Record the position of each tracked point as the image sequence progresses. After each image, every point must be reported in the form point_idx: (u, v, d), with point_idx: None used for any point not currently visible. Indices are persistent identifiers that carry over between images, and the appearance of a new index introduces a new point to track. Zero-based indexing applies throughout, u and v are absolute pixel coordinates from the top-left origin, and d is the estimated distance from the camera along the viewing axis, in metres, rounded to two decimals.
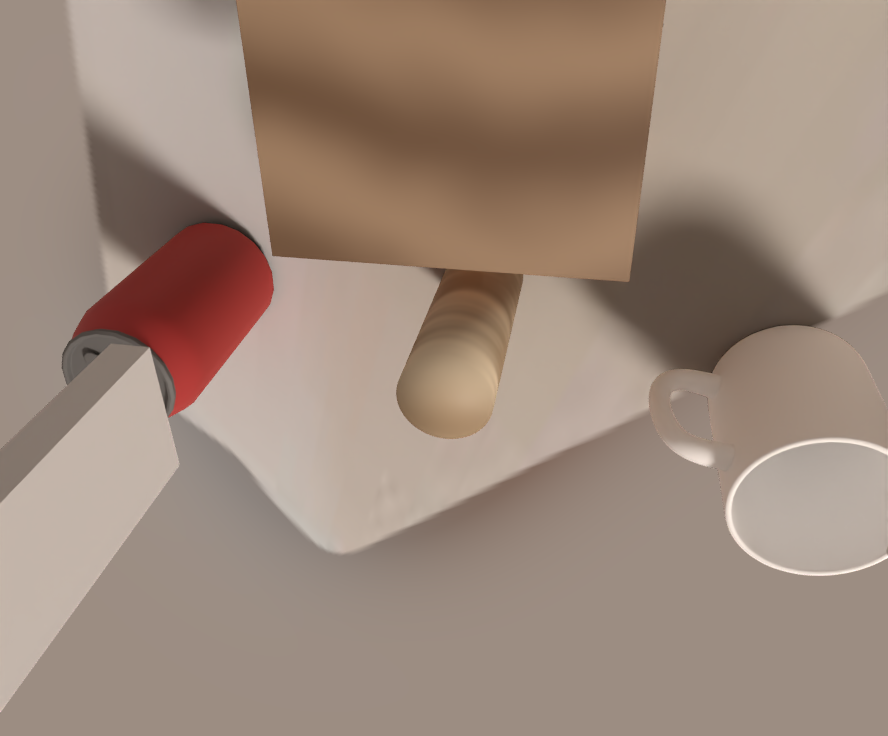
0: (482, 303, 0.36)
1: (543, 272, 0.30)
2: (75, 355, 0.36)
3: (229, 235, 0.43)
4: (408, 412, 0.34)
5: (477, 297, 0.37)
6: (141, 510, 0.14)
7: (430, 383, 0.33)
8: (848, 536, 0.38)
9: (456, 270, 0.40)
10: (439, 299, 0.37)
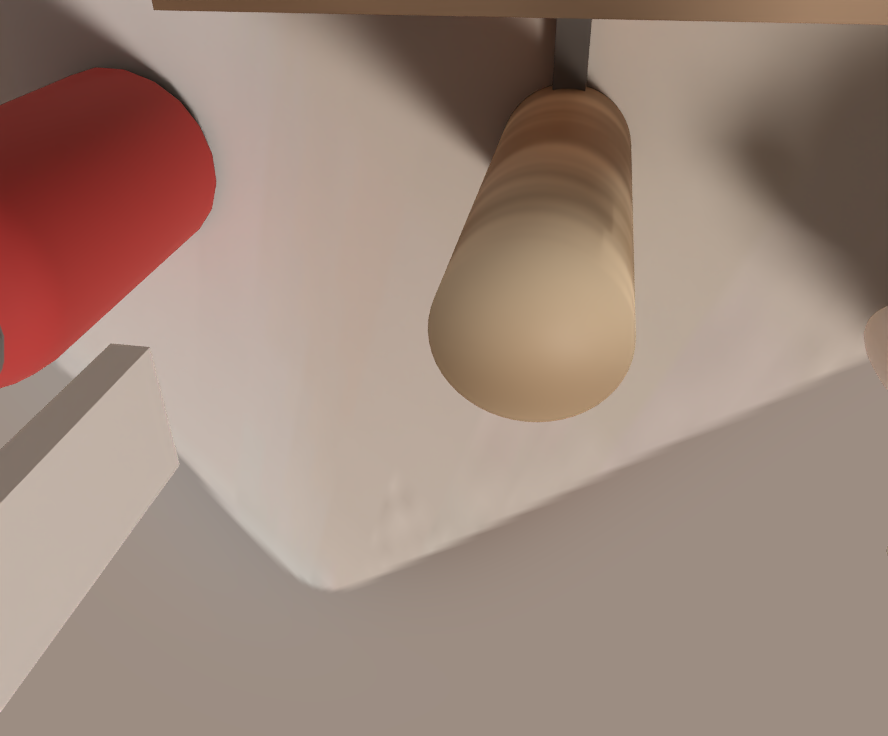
0: (589, 164, 0.19)
1: (796, 13, 0.12)
2: None
3: (136, 84, 0.26)
4: (451, 368, 0.17)
5: (578, 153, 0.19)
6: (141, 510, 0.14)
7: (501, 303, 0.16)
8: None
9: (527, 122, 0.22)
10: (502, 162, 0.20)
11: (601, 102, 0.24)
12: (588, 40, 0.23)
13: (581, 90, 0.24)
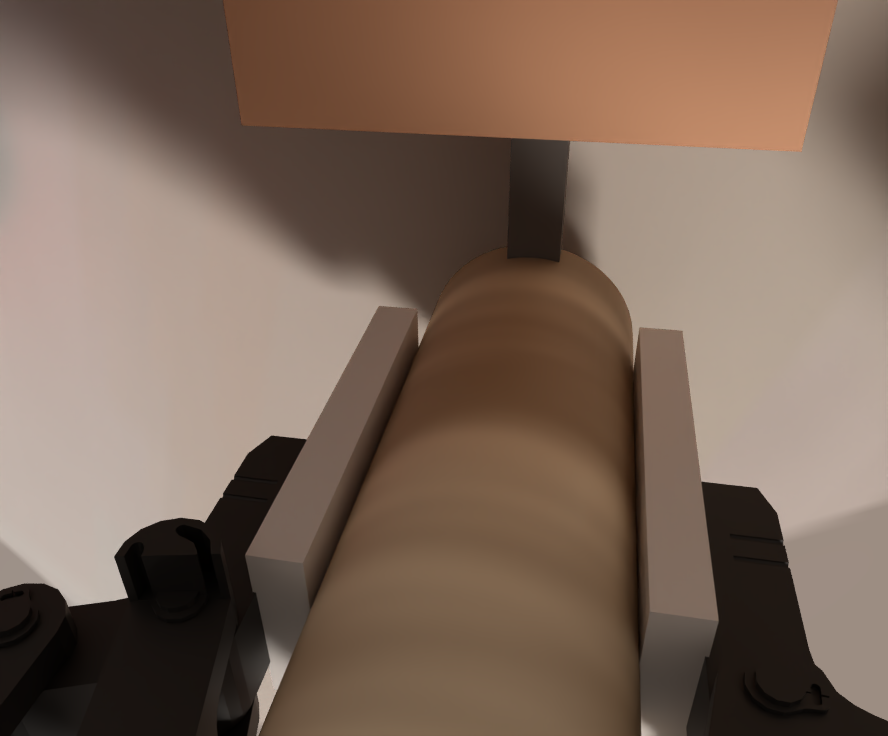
0: (554, 485, 0.10)
1: None
2: None
3: None
4: None
5: (534, 456, 0.10)
6: None
7: None
8: None
9: (456, 339, 0.13)
10: (397, 452, 0.11)
11: (585, 284, 0.15)
12: (563, 188, 0.14)
13: (553, 261, 0.15)
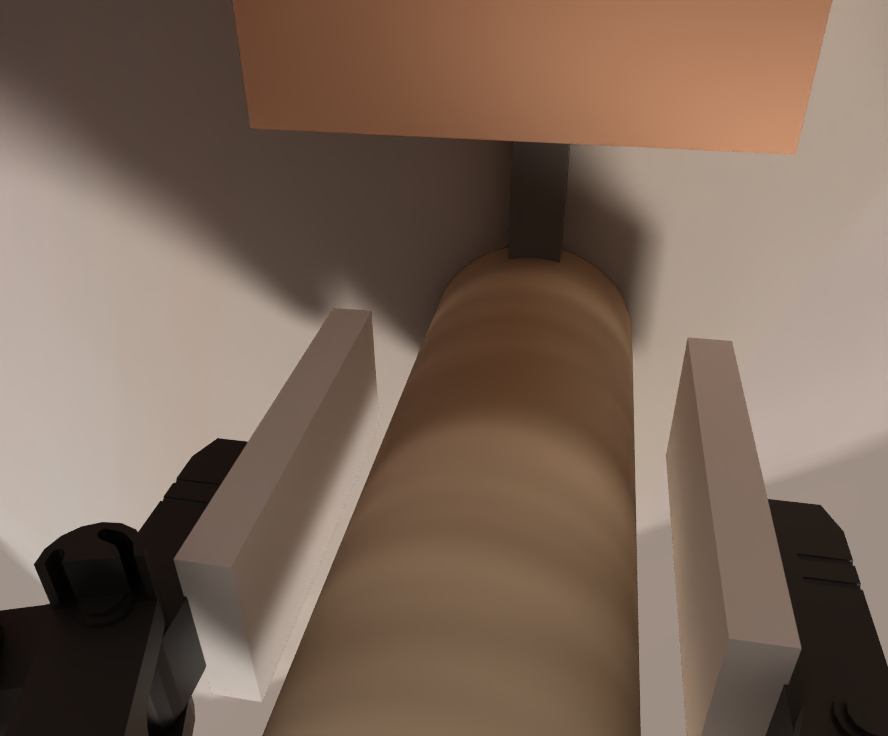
0: (555, 481, 0.10)
1: None
2: None
3: None
4: None
5: (536, 452, 0.10)
6: (357, 464, 0.15)
7: None
8: None
9: (458, 338, 0.13)
10: (401, 449, 0.11)
11: (585, 284, 0.15)
12: (563, 189, 0.14)
13: (553, 261, 0.15)
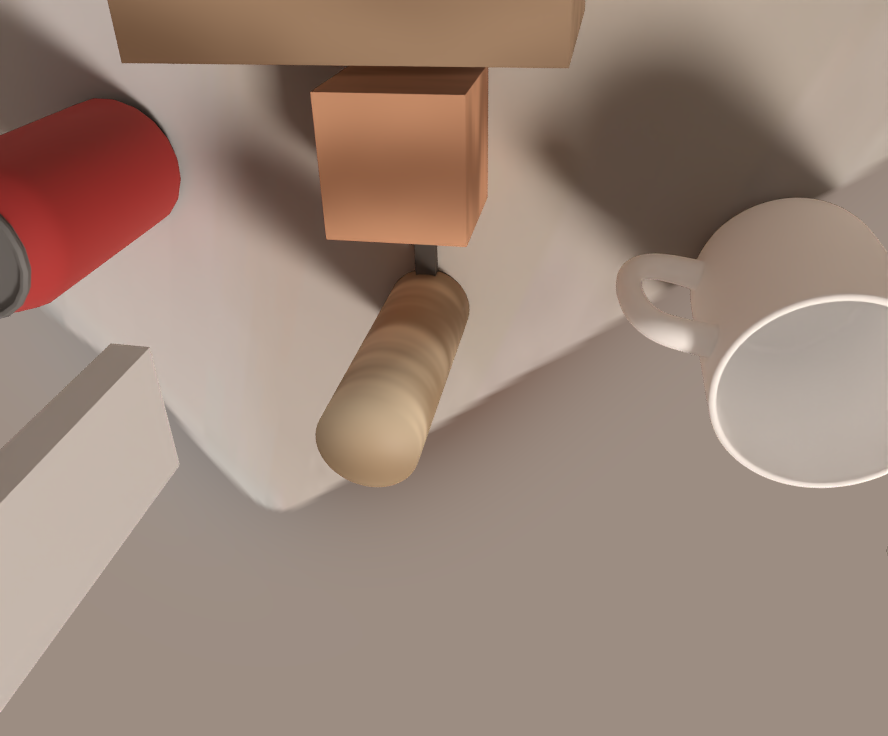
0: (415, 339, 0.34)
1: (458, 62, 0.23)
2: None
3: (122, 109, 0.37)
4: (330, 459, 0.31)
5: (410, 332, 0.34)
6: (141, 511, 0.14)
7: (351, 428, 0.30)
8: (863, 441, 0.31)
9: (393, 303, 0.37)
10: (370, 334, 0.35)
11: (444, 284, 0.39)
12: (434, 248, 0.38)
13: (433, 275, 0.39)
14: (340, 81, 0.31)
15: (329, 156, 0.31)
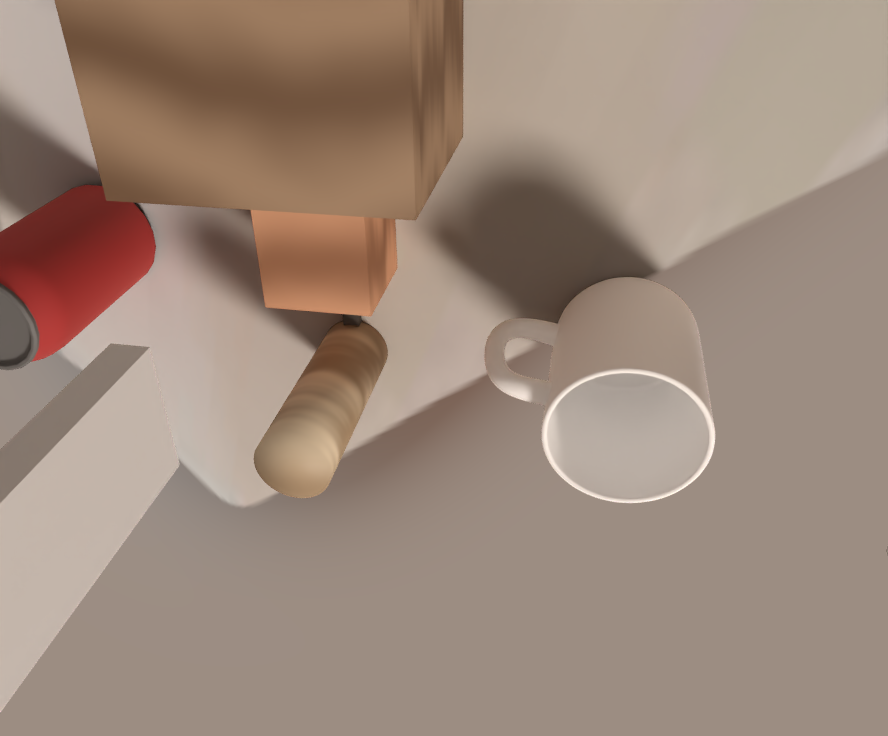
0: (334, 383, 0.44)
1: (341, 212, 0.33)
2: None
3: None
4: (265, 476, 0.42)
5: (331, 377, 0.44)
6: (140, 511, 0.14)
7: (279, 455, 0.41)
8: (663, 468, 0.41)
9: (322, 350, 0.47)
10: (301, 378, 0.45)
11: (365, 333, 0.49)
12: None
13: (356, 326, 0.49)
14: None
15: (265, 248, 0.41)
